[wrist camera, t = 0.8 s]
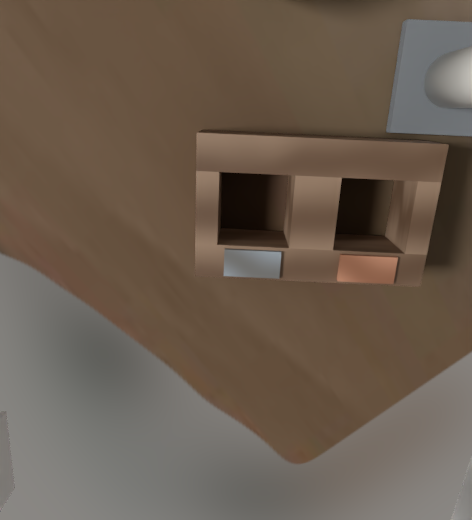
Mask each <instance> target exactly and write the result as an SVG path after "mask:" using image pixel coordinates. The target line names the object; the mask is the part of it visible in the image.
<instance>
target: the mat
mask: <svg viewBox="0 0 472 520" xmlns="http://www.w3.org/2000/svg"><path fill="white" fill-rule="evenodd" d="M470 46H472V22H455V21H434V20H412V19H407V20H406V21H404V22H403V24H402V31H401V38H400V44H399V51H398V57H397V64H396V70H395V77H394V83H393V90H392V96H391V103H390V110H389V116H388V123H387V129H386V132H390V133H411V134H432V135H453V136H472V108H441V107H438V106H436V105H434V104H433V103H431V102H430V100H429V99H428V98H427V96H426V93H425V89H424V80H425V76H426V73H427V71H428V69H429V67H430V65H431V64H432V63H433V62H434V61H435V60H436V59H437V58H438V57H440V56H442V55H444V54H446V53H449V52H453V51H456V50H460V49H463V48H467V47H470Z"/></svg>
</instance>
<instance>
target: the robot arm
mask: <svg viewBox="0 0 472 520" xmlns="http://www.w3.org/2000/svg"><path fill="white" fill-rule="evenodd" d="M14 488H15V486H14V478H13V469H12V460H11V451H10V441H9V433H8V423H7V415H6V412H4V411H0V511H1V509H2V508H3V506H4V504H5V503H6V501H7V500H8V498H9V496H10V494H11V493H12V491H13V490H14ZM451 520H472V457H471V460H470V463H469V466H468V469H467V472H466V475H465V479H464V482H463V485H462V487H461V491H460V494H459V497H458V500H457V503H456V506H455V509H454V512H453V515H452V518H451Z"/></svg>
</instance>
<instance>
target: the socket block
mask: <svg viewBox="0 0 472 520" xmlns="http://www.w3.org/2000/svg"><path fill="white" fill-rule="evenodd" d="M448 147H449V144H443V143H437V142H431V141H425V140H411V139H390V138H368V137H347V136H326V135H304V134H283V133H262V132H240V131H219V130H201V131H199V132H197V152H196V226H195V276H201V277H222V278H243V279H264V280H285V281H306V282H327V283H348V284H369V285H391V286H412V287H421V282H422V277H423V272H424V267H425V262H426V257H427V252H428V247H429V242H430V237H431V232H432V227H433V222H434V217H435V212H436V207H437V202H438V197H439V192H440V187H441V182H442V177H443V172H444V167H445V162H446V157H447V152H448ZM222 172H230V173H251V174H272V175H288V183H287V195H286V207H285V219H284V231H267V230H246V229H225V228H220V226H221V196H222ZM342 178H357V179H379V180H394V184H393V190H392V196H391V202H390V208H389V214H388V220H387V226H386V233H385V236H373V235H352V234H335V229H336V221H337V213H338V205H339V197H340V189H341V181H342Z"/></svg>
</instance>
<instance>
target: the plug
mask: <svg viewBox="0 0 472 520" xmlns="http://www.w3.org/2000/svg"><path fill="white" fill-rule="evenodd" d="M424 89H425V93H426V96H427V98H428V99H429V100H430V102H431V103H433V104H434V105H436V106H438V107H441V108H472V46H470V47H467V48H463V49H460V50H456V51H453V52H449V53H446V54H444V55H442V56H440V57H438V58H437V59H436V60H435V61H434V62H433V63H432V64H431V65H430V67H429V69H428V71H427V73H426V76H425V80H424Z"/></svg>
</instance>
